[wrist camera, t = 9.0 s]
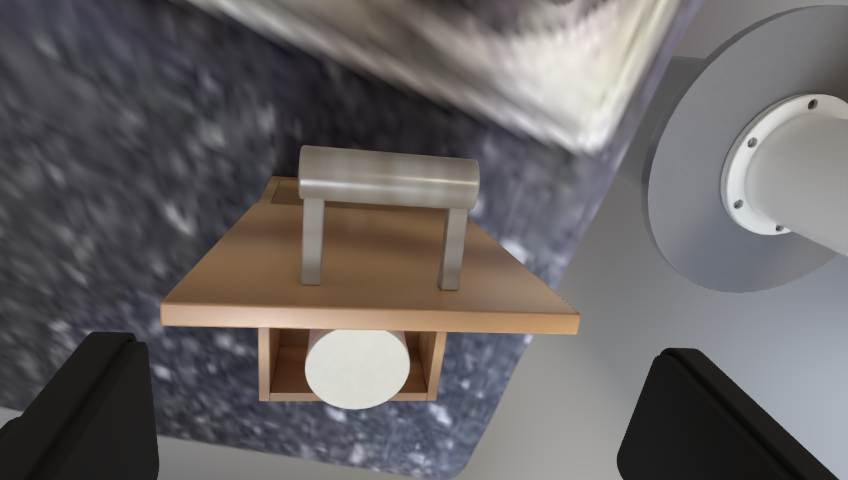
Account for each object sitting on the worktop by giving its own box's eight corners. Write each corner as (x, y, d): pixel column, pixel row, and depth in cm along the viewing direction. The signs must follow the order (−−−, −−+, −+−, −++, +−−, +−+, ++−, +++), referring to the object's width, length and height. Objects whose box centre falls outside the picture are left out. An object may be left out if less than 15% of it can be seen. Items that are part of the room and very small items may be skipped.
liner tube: (406, 257, 40) (427, 344, 29) (374, 318, 42) (383, 420, 31) (334, 229, 38) (329, 310, 28) (304, 294, 40) (288, 393, 30)
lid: (578, 335, 17) (607, 176, 16) (159, 327, 15) (152, 138, 13) (466, 227, 33) (476, 142, 31) (254, 215, 30) (255, 122, 29)
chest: (424, 349, 45) (436, 400, 39) (271, 347, 43) (258, 401, 37) (447, 188, 39) (465, 219, 33) (271, 175, 37) (255, 206, 31)
